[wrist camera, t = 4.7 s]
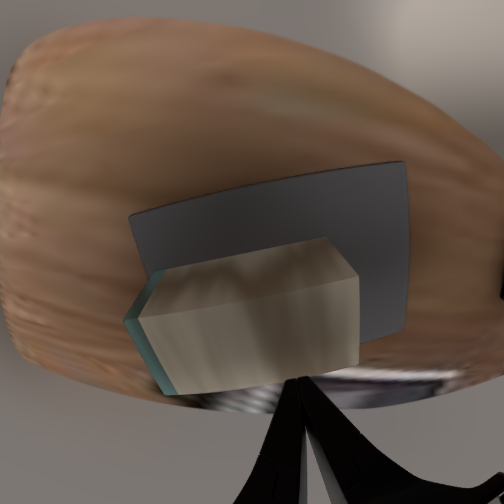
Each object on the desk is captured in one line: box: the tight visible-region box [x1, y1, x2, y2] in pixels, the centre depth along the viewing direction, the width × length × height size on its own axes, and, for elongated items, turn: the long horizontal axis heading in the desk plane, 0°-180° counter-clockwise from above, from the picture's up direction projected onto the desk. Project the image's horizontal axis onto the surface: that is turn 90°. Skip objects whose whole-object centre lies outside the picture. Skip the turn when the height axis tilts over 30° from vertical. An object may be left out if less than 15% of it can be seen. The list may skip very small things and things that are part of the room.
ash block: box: [123, 237, 360, 395], centre depth 14 cm, size 5×5×10 cm
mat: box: [128, 161, 410, 344], centre depth 16 cm, size 16×12×1 cm
